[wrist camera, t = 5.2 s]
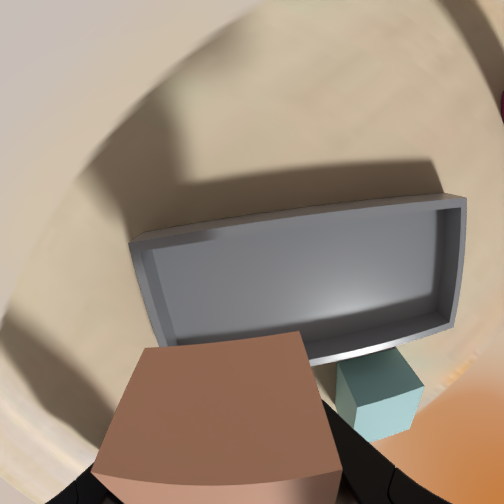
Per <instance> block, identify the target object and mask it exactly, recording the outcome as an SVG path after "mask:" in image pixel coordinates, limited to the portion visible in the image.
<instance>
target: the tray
mask: <svg viewBox="0 0 504 504" xmlns="http://www.w3.org/2000/svg"><path fill="white" fill-rule="evenodd" d="M466 218H467V198H466V197H461V196H457V195H452V194H448V193H436V194H424V195H412V196H402V197H391V198H381V199H371V200H362V201H353V202H344V203H335V204H327V205H319V206H311V207H303V208H295V209H288V210H280V211H273V212H266V213H259V214H252V215H245V216H239V217H232V218H226V219H219V220H213V221H207V222H201V223H195V224H189V225H183V226H177V227H171V228H165V229H160V230H154V231H149V232H143V233H142V234H140V235H139V236H137V237H136V238H135V239H133V240H132V241H130V242H129V243H128V244H129V248H130V252H131V256H132V260H133V264H134V268H135V271H136V275H137V279H138V282H139V286H140V289H141V293H142V296H143V299H144V303H145V306H146V309H147V312H148V315H149V318H150V321H151V324H152V327H153V330H154V333H155V336H156V339H157V342H158V345H159V347H170V346H183V345H194V344H205V343H215V342H224V341H232V340H241V339H248V338H256V337H263V336H270V335H276V334H283V333H289V332H295V331H299V332H300V335H301V338H302V341H303V344H304V347H305V350H306V353H307V356H308V359H309V362H310V366H315V365H320V364H325V363H330V362H334V361H339V360H344V359H348V358H352V357H356V356H361V355H365V354H369V353H372V352H376V351H380V350H384V349H387V348H391V347H394V346H398V345H401V344H405V343H408V342H411V341H414V340H418V339H421V338H424V337H427V336H430V335H433V334H436V333H438V332H441V331H444V330H447V329H450V328H452V327H454V322H455V317H456V312H457V307H458V301H459V295H460V288H461V281H462V273H463V264H464V254H465V241H466Z"/></svg>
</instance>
